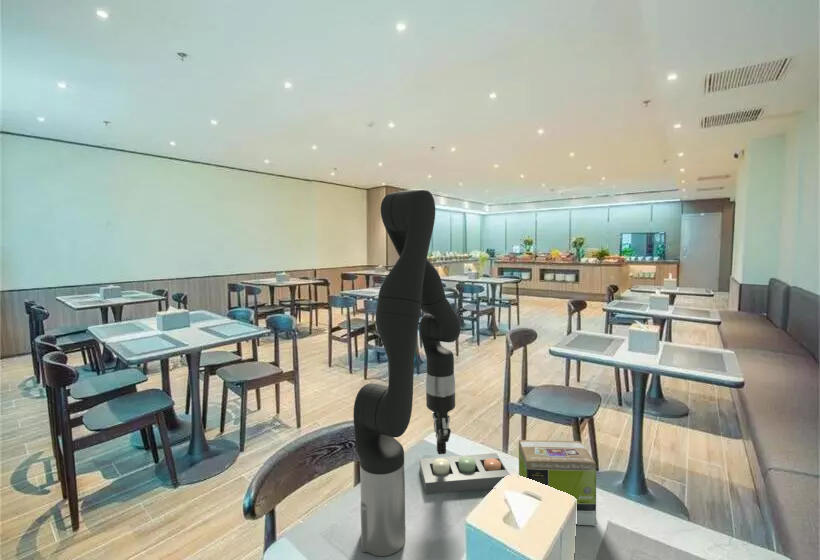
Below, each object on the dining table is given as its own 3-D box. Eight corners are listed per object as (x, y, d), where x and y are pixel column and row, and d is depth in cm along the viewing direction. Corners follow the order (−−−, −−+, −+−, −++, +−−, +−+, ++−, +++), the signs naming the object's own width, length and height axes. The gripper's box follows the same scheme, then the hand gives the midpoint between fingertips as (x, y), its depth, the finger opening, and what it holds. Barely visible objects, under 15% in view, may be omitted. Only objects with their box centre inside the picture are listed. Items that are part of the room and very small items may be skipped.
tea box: (580, 497, 93) (582, 439, 92) (596, 527, 83) (598, 463, 82) (517, 494, 95) (518, 437, 94) (525, 523, 85) (526, 460, 84)
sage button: (460, 475, 100) (460, 466, 99) (457, 466, 104) (456, 457, 104) (477, 474, 100) (477, 465, 100) (472, 465, 104) (472, 455, 104)
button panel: (425, 494, 95) (425, 482, 95) (419, 469, 106) (419, 458, 106) (510, 487, 98) (510, 475, 98) (496, 463, 109) (496, 453, 108)
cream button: (434, 477, 99) (434, 468, 99) (431, 468, 103) (431, 459, 103) (451, 476, 99) (451, 467, 99) (447, 466, 104) (447, 457, 103)
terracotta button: (486, 477, 100) (487, 468, 100) (482, 467, 105) (482, 458, 105) (503, 476, 101) (503, 466, 101) (497, 466, 105) (497, 457, 105)
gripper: (422, 381, 105) (423, 441, 107) (430, 400, 92) (431, 468, 94) (449, 379, 106) (450, 439, 108) (460, 398, 93) (461, 466, 95)
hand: (441, 452), depth 101 cm, fingers closed
